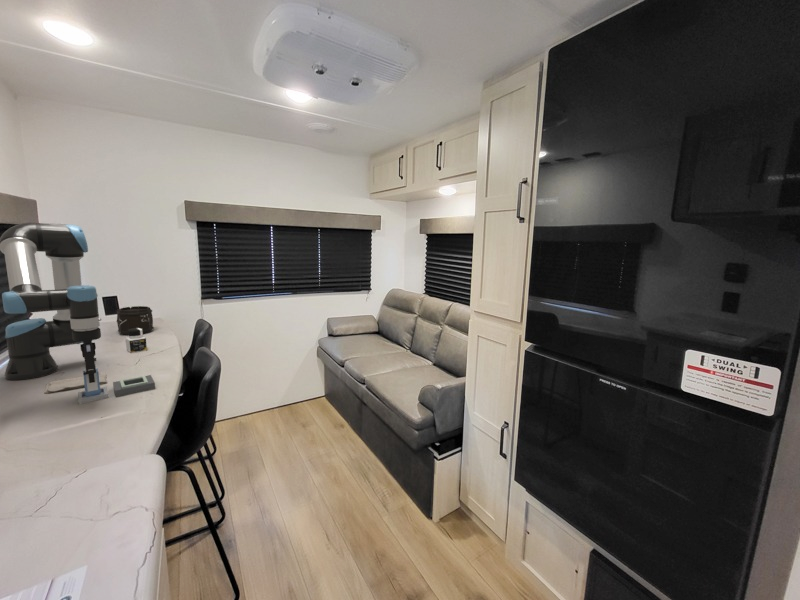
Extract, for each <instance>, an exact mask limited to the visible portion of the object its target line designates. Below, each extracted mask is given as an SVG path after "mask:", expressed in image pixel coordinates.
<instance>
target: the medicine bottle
mask: <svg viewBox="0 0 800 600" xmlns="http://www.w3.org/2000/svg"><path fill="white" fill-rule="evenodd" d="M143 335H144V334H143V332H142V329H141V328H133V329H130V330H128V337H125V346H126V351H127V352H129V353H130V354H135V353H139V352H145V351H147V350H148V347H147V338H146V337H145V336H143Z"/></svg>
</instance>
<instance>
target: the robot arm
mask: <svg viewBox="0 0 800 600" xmlns="http://www.w3.org/2000/svg"><path fill="white" fill-rule="evenodd" d="M88 251H89V248H88V241H87V238H86V235H85V232H84V230H83V229H82V227H81V226H79V225H73V224H65V223H64V224H61V223H45V222H44V223H43V222H22V223H19V224H15V225H14V226H12V227H11V226H10V227H9V228H8V229H7V230H5V231H4V232H3V233H2V234H1V236H0V252H1V253H2V254H4V259H5V261H4V262H5V266H6V272H7V274H6V275H7V281H8V286H9V287H8V288H9V291H4V292H2V293H1V298H2V305H3V306H2V307H3V311H4V313H5V314H12V315H13V314H16V315H17V314H29V313H39V312H40V313H41V312H51V311H52V312H53V311H56V313H55V314H54V315H53V316H52V320H48V321H47V320H46V319H45V318H43V317H41V318H31V319H24V320H20V321H15V322H13V323H10V324H8V325H7V326H6V327H5V335H4V338H5V339H6V344H7V352H8V362H7V365H6V368H5V372H4V378H5V379H6V380H8V381H21V380H29V379H36V378H41V377H44V376H48V375H51V374H53V373H56V372H57V371H58V365H57V362H56V361H55V359H54V357H53V356H52V354H51V353H50V352H51V351H50V348H57V347H58V348H59V347H63V346H65V347H66V346H70V345H80V346H79V347H80V351H81V353H82V354H81V356H82V358H83V359H84V367H85V366H86V372H84V373H83V372H82V374H83V375H86V381H87V390H88V392H89V391H94V390H98V384H97V375H96V369H97V368H96V369H95V364H96V363H95V362H96V361H97V357H95V356H96V348H97V347H96V343H95V342H93V341H95V340H99V339H100V338H102V332H101V331H102V330H101V328H100V327H101V324H100V322H101V321H102V318H101V317H100V314H99V303H98V295H99V294H98V292H97V288H96V287H95V286H93V285H87V284H86V285H84V284H82V275H81V274H82V273H81V264H80V263H81V262H80V261H81V259H83V258H84V257H85V253H88ZM37 252H43V253H45V257H47V258H49V260H51V267H52V268H51V269H52V277H53V285H54V289H43V288H42V284H41V280H40V275H39V269H38V265H37V260H36V259H37V258H36V255H35V254H36V253H37ZM99 317H100V318H99ZM90 369H94V370H90ZM83 375H82V376H83Z"/></svg>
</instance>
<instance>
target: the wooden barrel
mask: <svg viewBox="0 0 800 600" xmlns="http://www.w3.org/2000/svg"><path fill="white" fill-rule="evenodd" d="M152 312H153V309H151V307H149V306H144V305H143V306H141V305H140V306H139V305H135V306H124V307H121V308H120V307H119V308H118V309H117V311H116V314H117V315H116V324H117V328H118V329H117V332H118V333H119V334H120V335H121V336H125V337H126V336H128V330H130V329H133V328H141V329H142V332H143V335H145V334H150V333H151V332H152V331H153V329H154V321H153V320H154V319H153V313H152Z"/></svg>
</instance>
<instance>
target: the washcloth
mask: <svg viewBox="0 0 800 600" xmlns="http://www.w3.org/2000/svg"><path fill="white" fill-rule="evenodd" d="M107 377H108V376H107V374H106V373H99V383H100V385H104V384H108V380H107ZM45 386H46V388H45V390H44V392H43V393H44V394H46V395H47V394H52V393H57V392H63V391H64V392H65V391H70V390H76V389H81V388H85V385H84V376H83V375H82V376H78V377H72V378H66V379H60V380H53V381H50V382H49V383H47V384H45Z"/></svg>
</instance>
